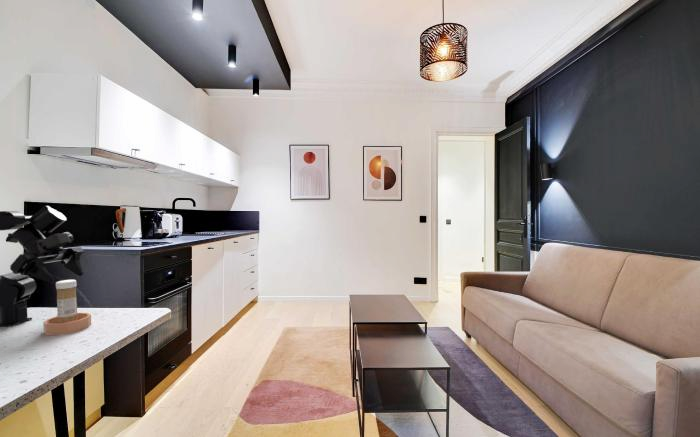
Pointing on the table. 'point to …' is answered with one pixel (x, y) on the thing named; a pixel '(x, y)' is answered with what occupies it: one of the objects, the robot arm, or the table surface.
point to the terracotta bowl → (66, 325)
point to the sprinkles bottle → (66, 301)
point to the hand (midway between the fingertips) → (68, 278)
